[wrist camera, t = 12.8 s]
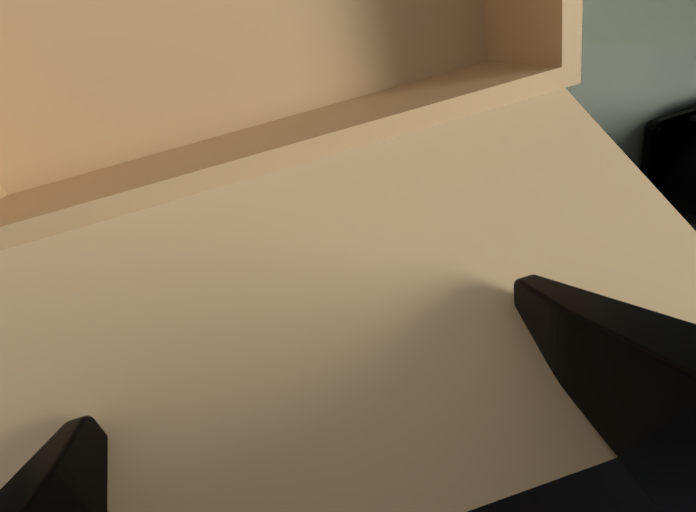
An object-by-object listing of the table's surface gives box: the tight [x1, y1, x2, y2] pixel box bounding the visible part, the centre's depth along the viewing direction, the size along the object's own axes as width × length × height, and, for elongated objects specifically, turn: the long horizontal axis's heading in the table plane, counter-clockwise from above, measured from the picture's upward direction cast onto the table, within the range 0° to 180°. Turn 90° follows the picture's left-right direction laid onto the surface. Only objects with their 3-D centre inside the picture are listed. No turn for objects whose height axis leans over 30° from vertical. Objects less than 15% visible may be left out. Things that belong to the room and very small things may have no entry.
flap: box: [0, 88, 696, 512], centre depth 10 cm, size 9×18×1 cm
